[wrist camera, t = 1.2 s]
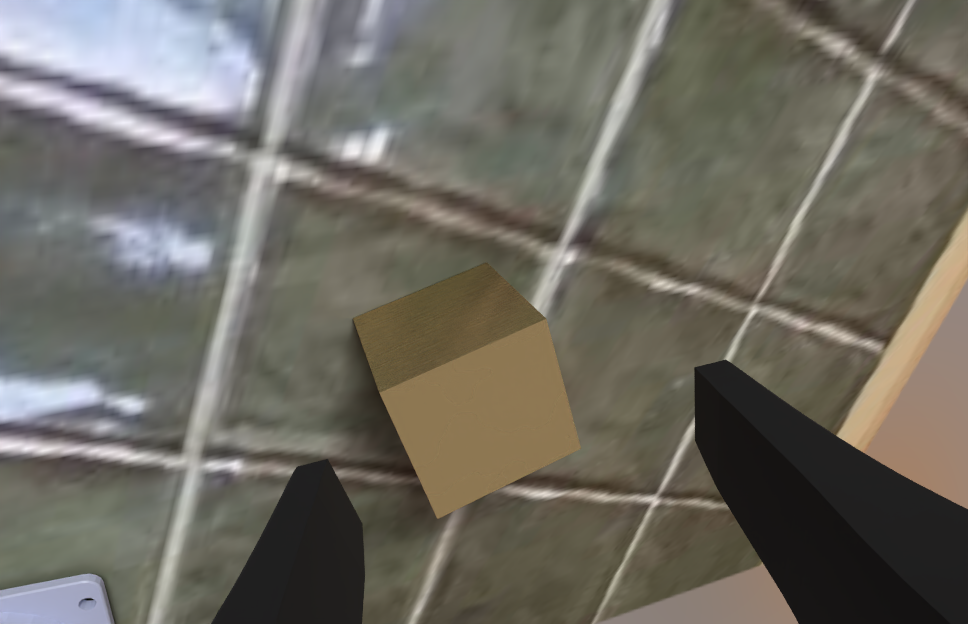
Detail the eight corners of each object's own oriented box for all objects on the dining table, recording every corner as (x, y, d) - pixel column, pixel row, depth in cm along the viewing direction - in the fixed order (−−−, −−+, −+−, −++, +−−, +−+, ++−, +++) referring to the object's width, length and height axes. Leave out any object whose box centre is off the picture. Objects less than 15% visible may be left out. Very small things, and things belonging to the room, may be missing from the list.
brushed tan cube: (521, 374, 24) (580, 448, 19) (402, 428, 23) (437, 519, 18) (486, 262, 21) (546, 318, 17) (352, 318, 20) (379, 392, 16)
